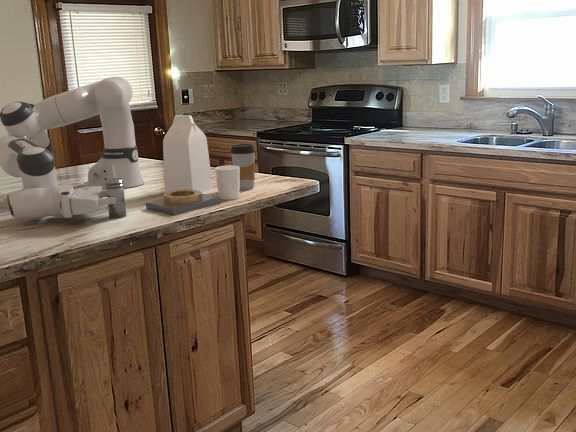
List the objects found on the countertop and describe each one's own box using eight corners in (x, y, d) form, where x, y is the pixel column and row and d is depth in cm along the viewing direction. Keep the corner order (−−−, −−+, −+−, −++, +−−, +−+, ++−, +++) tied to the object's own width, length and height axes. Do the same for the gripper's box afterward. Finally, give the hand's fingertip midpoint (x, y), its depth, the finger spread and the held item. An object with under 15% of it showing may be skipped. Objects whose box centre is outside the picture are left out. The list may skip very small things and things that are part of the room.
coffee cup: (253, 191, 210) (251, 147, 206) (230, 191, 211) (227, 147, 208) (259, 186, 218) (257, 143, 214) (236, 185, 219) (234, 143, 215)
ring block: (174, 215, 182) (172, 202, 181) (146, 208, 191) (145, 196, 190) (220, 203, 194) (219, 190, 193) (192, 197, 204) (191, 185, 203)
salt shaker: (105, 218, 181) (101, 181, 179) (115, 213, 186) (111, 178, 183) (120, 218, 180) (116, 181, 177) (129, 214, 185) (126, 178, 182)
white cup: (217, 195, 205) (215, 166, 203) (241, 194, 206) (239, 164, 203) (216, 201, 197) (214, 170, 195) (241, 199, 198) (239, 168, 196)
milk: (213, 189, 216) (207, 114, 209) (193, 196, 206) (186, 117, 199) (185, 187, 221) (179, 113, 214) (164, 193, 211) (157, 117, 205)
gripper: (73, 203, 189) (119, 199, 192) (64, 219, 170) (116, 215, 173) (70, 183, 188) (117, 179, 191) (61, 197, 168) (113, 193, 171)
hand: (116, 196), depth 182 cm, fingers open, 8 cm apart
